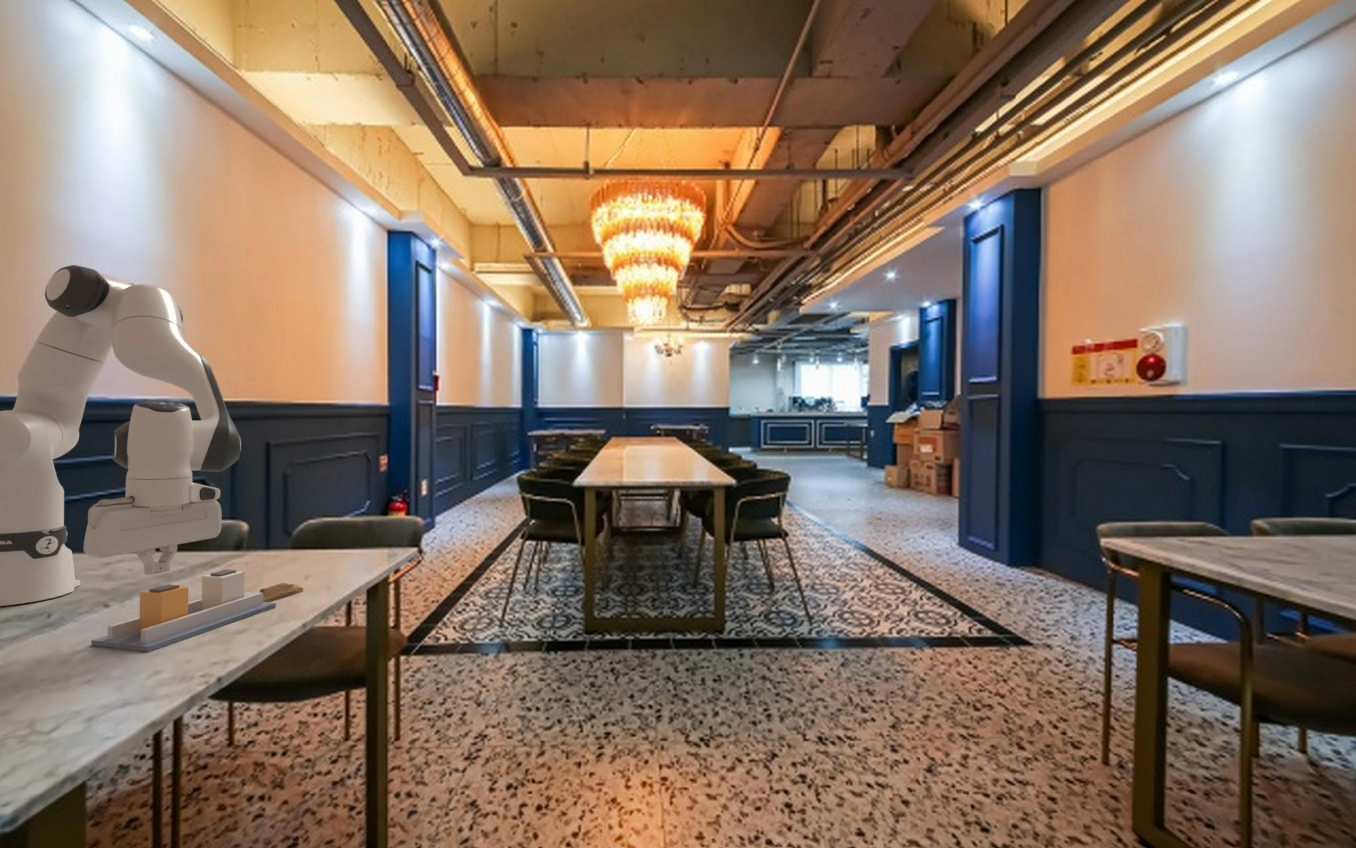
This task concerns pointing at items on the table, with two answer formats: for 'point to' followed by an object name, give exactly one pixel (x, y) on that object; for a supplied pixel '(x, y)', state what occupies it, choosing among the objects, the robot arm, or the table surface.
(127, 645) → the rail panel
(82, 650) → the table surface
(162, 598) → the block
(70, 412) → the robot arm
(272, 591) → the shard
